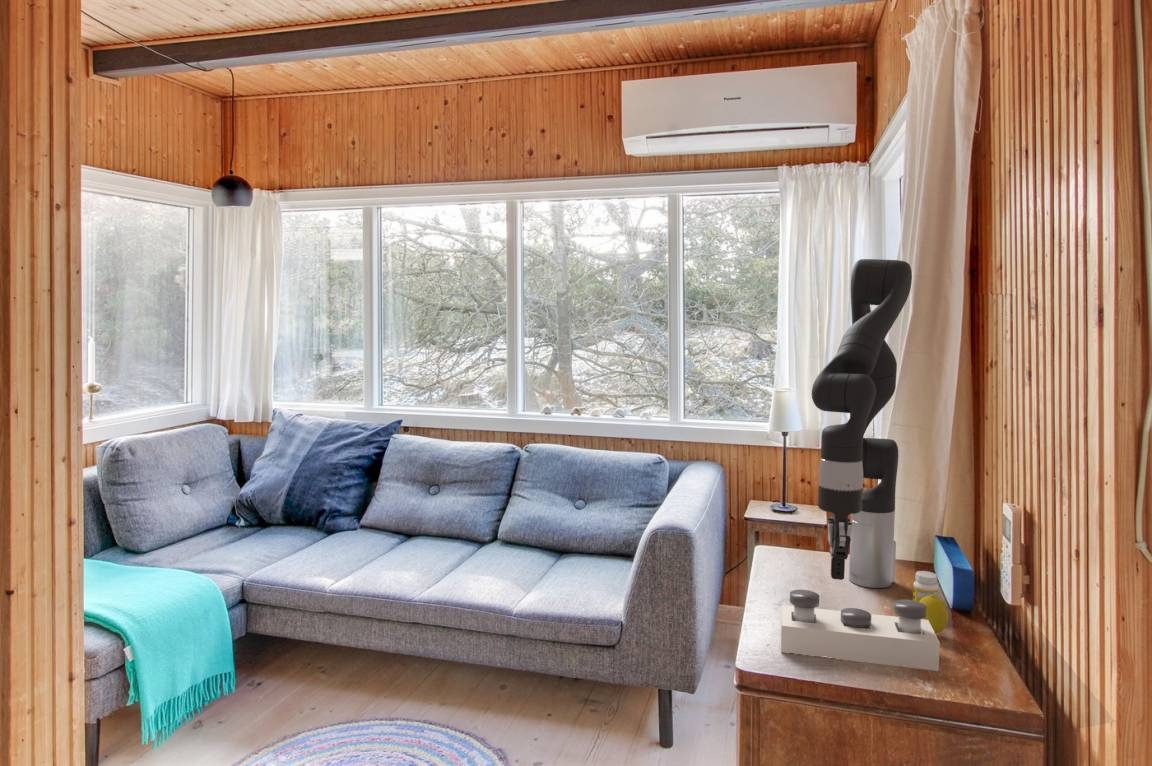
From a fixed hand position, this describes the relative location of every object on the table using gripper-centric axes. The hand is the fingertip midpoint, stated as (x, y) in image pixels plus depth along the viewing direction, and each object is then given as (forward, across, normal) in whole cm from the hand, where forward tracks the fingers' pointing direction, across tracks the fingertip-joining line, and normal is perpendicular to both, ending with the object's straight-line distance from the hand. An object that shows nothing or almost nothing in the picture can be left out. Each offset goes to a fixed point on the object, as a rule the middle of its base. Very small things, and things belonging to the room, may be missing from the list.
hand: (837, 577), depth 133 cm
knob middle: (+12, 0, -3) cm, 12 cm away
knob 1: (+9, +1, +5) cm, 11 cm away
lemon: (+13, +10, -18) cm, 25 cm away
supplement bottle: (+13, +21, -20) cm, 32 cm away
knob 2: (+9, 0, -12) cm, 16 cm away
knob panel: (+13, 0, -4) cm, 14 cm away
